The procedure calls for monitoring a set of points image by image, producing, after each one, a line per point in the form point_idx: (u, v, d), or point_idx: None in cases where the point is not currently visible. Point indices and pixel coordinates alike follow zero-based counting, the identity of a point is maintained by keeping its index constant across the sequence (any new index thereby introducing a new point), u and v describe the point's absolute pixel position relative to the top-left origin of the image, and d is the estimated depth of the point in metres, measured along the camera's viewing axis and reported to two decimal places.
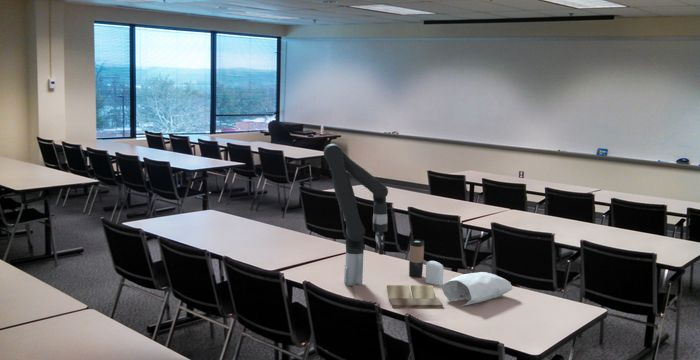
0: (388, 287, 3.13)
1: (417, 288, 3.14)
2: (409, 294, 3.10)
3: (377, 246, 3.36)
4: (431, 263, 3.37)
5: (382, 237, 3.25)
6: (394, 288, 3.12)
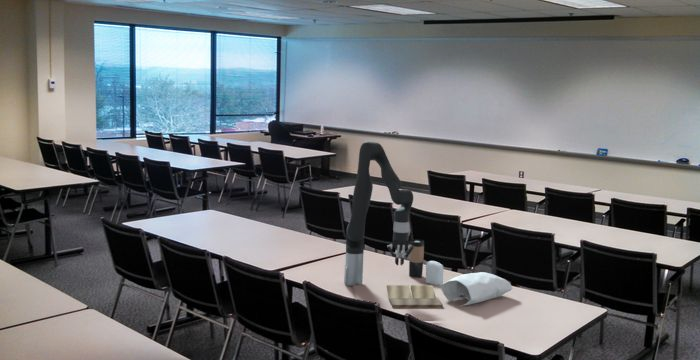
0: (388, 287, 3.13)
1: (417, 288, 3.14)
2: (409, 294, 3.10)
3: None
4: (431, 263, 3.37)
5: None
6: (394, 288, 3.12)
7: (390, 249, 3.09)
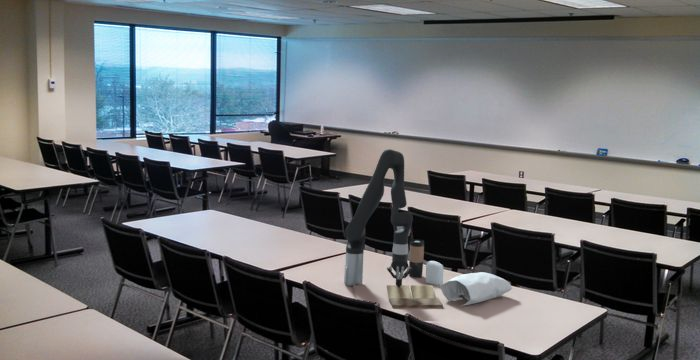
0: (388, 287, 3.13)
1: (417, 288, 3.14)
2: (409, 294, 3.10)
3: None
4: (431, 263, 3.37)
5: None
6: (394, 288, 3.12)
7: (390, 271, 3.11)
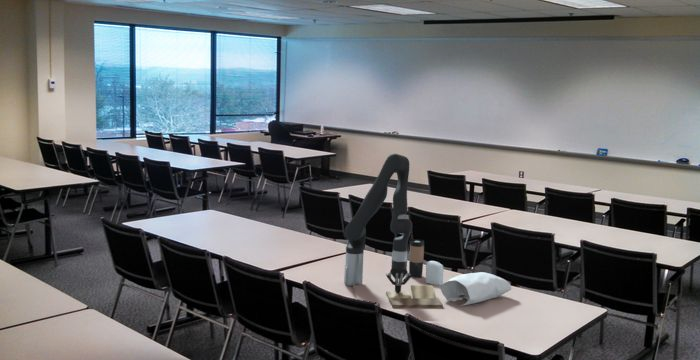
0: (387, 292, 3.14)
1: (417, 288, 3.14)
2: (409, 295, 3.11)
3: None
4: (431, 263, 3.37)
5: None
6: (393, 293, 3.14)
7: (389, 278, 3.12)
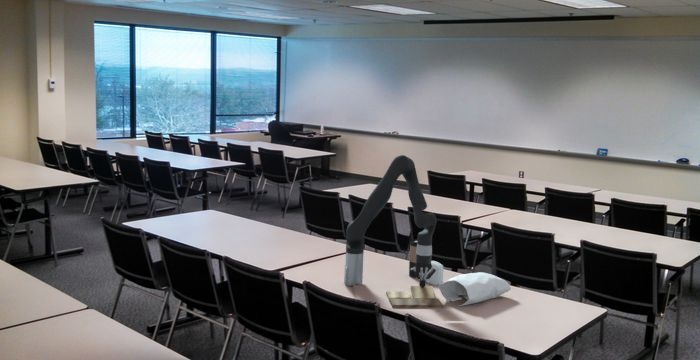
0: (387, 292, 3.14)
1: (417, 288, 3.14)
2: (409, 295, 3.11)
3: None
4: (431, 263, 3.37)
5: None
6: (393, 293, 3.14)
7: (414, 272, 3.12)
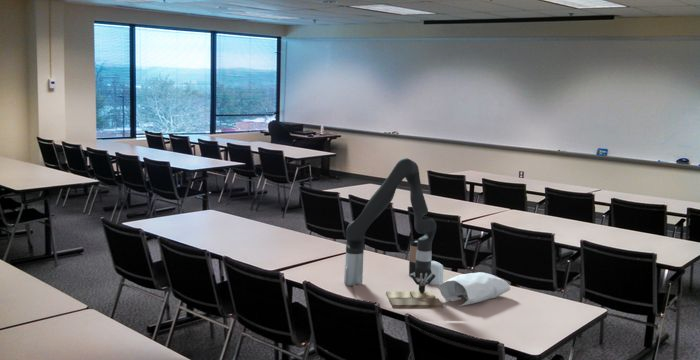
0: (387, 292, 3.14)
1: (416, 292, 3.15)
2: (409, 295, 3.11)
3: None
4: (431, 263, 3.37)
5: None
6: (393, 293, 3.14)
7: (413, 278, 3.13)
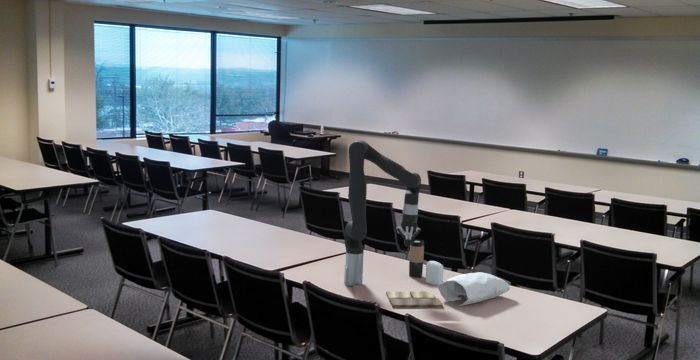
0: (387, 292, 3.14)
1: (416, 292, 3.15)
2: (409, 295, 3.11)
3: None
4: (431, 263, 3.37)
5: None
6: (393, 293, 3.14)
7: (399, 231, 3.19)
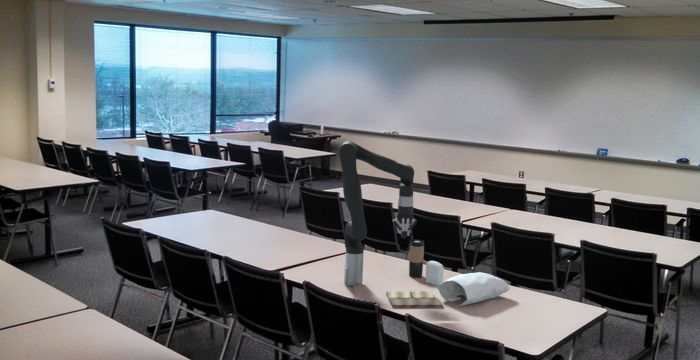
0: (387, 292, 3.14)
1: (416, 292, 3.15)
2: (409, 295, 3.11)
3: None
4: (431, 263, 3.37)
5: None
6: (393, 293, 3.14)
7: (396, 223, 3.22)
